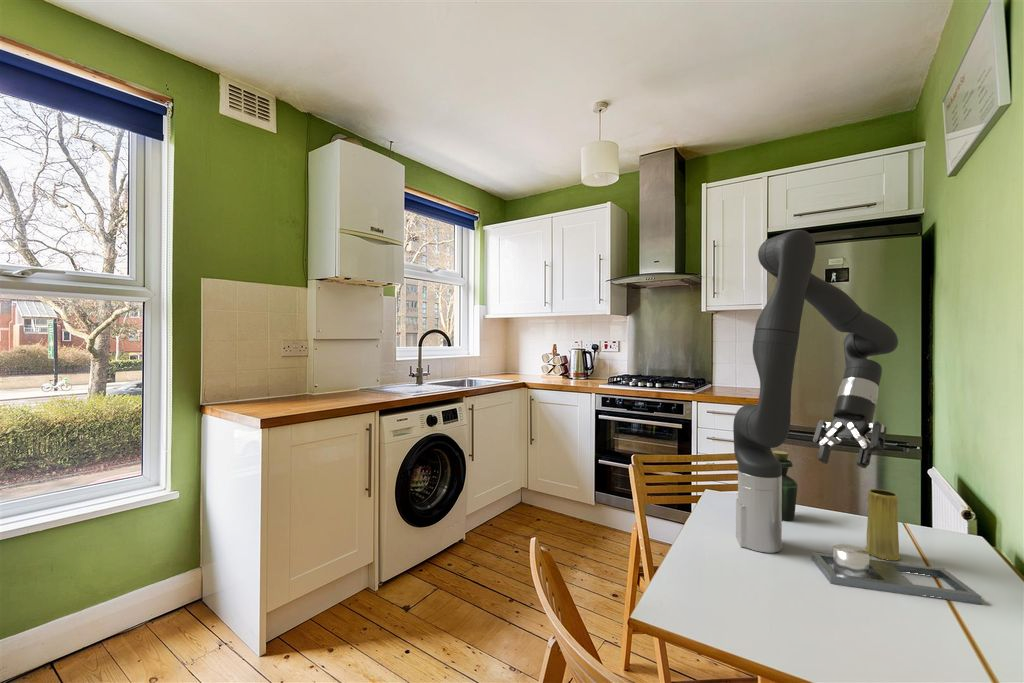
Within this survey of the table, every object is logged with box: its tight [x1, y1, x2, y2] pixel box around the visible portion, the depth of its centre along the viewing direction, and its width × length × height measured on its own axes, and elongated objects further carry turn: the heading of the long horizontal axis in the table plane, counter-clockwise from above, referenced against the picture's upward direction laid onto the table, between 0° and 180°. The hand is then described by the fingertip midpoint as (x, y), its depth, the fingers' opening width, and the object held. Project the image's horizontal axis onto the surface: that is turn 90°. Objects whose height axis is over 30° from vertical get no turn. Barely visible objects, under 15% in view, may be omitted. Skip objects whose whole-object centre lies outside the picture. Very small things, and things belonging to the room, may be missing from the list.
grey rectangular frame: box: [810, 543, 982, 605], centre depth 92 cm, size 24×11×5 cm, turn 73°
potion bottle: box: [772, 450, 798, 522], centre depth 126 cm, size 8×8×18 cm
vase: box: [865, 488, 901, 561], centre depth 103 cm, size 6×6×14 cm
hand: (841, 464), depth 102 cm, fingers open, 8 cm apart
